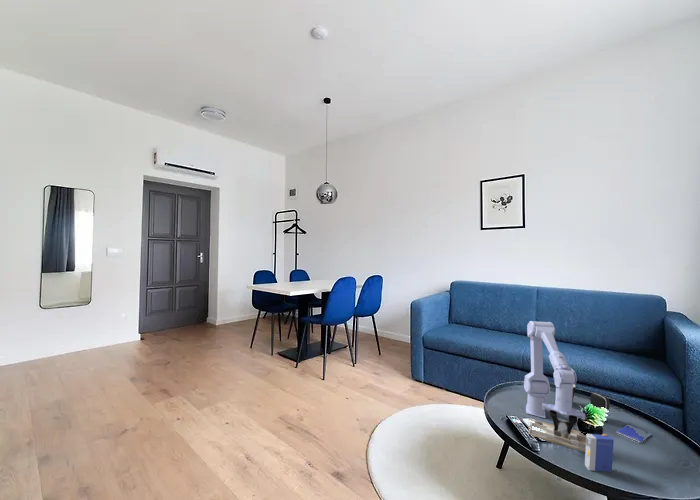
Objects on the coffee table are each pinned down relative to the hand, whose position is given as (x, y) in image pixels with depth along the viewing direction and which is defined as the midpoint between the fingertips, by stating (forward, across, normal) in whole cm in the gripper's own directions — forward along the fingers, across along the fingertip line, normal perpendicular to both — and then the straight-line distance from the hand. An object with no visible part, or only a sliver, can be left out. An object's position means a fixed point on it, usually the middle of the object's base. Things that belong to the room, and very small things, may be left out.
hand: (562, 431), depth 131 cm
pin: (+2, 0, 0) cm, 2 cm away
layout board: (+4, 0, +3) cm, 5 cm away
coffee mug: (+4, +4, +38) cm, 38 cm away
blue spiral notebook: (+5, +28, +23) cm, 36 cm away
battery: (+4, +17, +30) cm, 35 cm away
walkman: (+4, +10, -13) cm, 17 cm away
